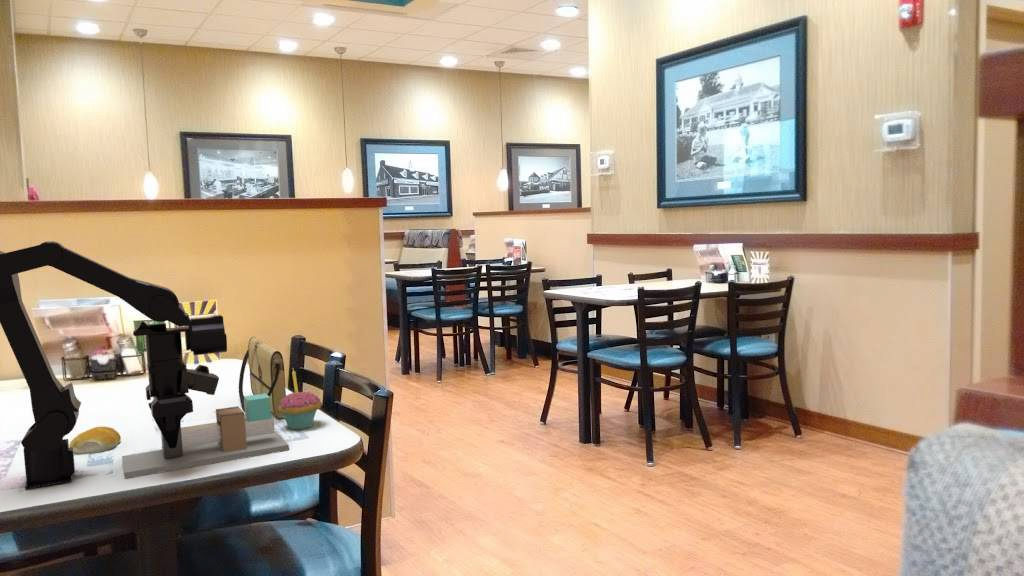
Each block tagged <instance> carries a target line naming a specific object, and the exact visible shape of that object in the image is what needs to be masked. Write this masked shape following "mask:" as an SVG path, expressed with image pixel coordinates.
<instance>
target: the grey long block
mask: <svg viewBox="0 0 1024 576" xmlns="http://www.w3.org/2000/svg"><path fill="white" fill-rule="evenodd" d="M274 418H275V417H274V416H273V415H272V414H271V419H265V420H258V421H252V422H249V421H248V420H247V419H246V418H245V428H246V438H248V437H254V436H260V435H266V434H272V433H275V432H274V431H275V420H274ZM160 434H161V435H160V436H161V447H162V448H161V450H162V452H163V456H164V459H165V458H171V457H177V456H183V449H182V448H186V447H193V446H199V445H205V444H211V443H217V442H222V437H221V423H220V422H217V421H215V422H209V423H208V422H207V423H204V424H198V425H197V424H196V425H191V426H189V425H188V426H183V427H182V425H181V423H180V428H179V434H178V441H177V446H176V448H169V446H168V444H167V442H166V440H165V439H164V437H163V435H162V433H161V432H160Z"/></svg>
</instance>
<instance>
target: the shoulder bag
mask: <svg viewBox="0 0 1024 576" xmlns="http://www.w3.org/2000/svg"><path fill="white" fill-rule="evenodd" d="M247 344H248V346H247V348H248V349H247V350H246V353H245V354H244V357H243V360H242V362H241V367H240V372H239V378H238V394H239V396H238V397H239V401H240V407H241V410H242V411H243V412H244V413H245V407H244V396H245V395H244V391H243V389H244V386H243V385H244V377H245V372H246V371H245V370H246V368H247V367H246V366H247V362H248V367H249V380H250V389H251V393H252V395H258V394H267V395H268V396H269V397H270V404H271V413H273V415H274V416H275V418H276V419H278V420H282V419H284V416H283V414H282V413H281V412H279V410H278V409H279V403H280V401H281V400H282V399H283V398H284V397H285V396H287V394H286V378H285V375H286V373H285V362H284V357H283V355H282V353H281V352H280V351H278V350H277V349H275V348H273V347H272V346H270V345H268V344H267V343H265V342H264V341H262V340H260V339H258V338H257V337H256V336H252V337H250V339H249V341H248V343H247Z"/></svg>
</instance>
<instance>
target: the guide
mask: <svg viewBox="0 0 1024 576" xmlns="http://www.w3.org/2000/svg"><path fill="white" fill-rule="evenodd" d="M215 416H216V422H220V423H221V437H222V442H217V443H211V444H205V445H199V446H193V447H186V448H182V449H183V456H177V457H171V458H165V459H164V456H163V452H162V449H157V450H151V451H145V452H144V451H143V452H139V453H133V454H126V455H122V456H121V461H122V467H123V476H124V479H130V478H137V477H141V476H146V475H147V476H148V475H152V474H153V475H154V474H159V473H163V472H170V471H175V470H176V471H177V470H181V469H187V468H192V467H198V466H199V467H200V466H205V465H212V464H216V463H222V462H228V461H234V460H238V459H237V458H240V459H243V458H242V457H245V458H249V457H248V456H251V457H256V456H255V455H257V456H261V454H263V455H266V454H267V453H268V454H272V452H274V453H278V451H280V452H284V451H283V450H285V451H289V449H290V445H289V444H288V442H287V441H286V439H284V438H283V437H282V436H281V435H280V434H279V433H278V432H277V431H276V430H274V432H275V433H272V434H266V435H260V436H254V437H248V438H246V428H245V412H244V411H243V409H242V408H240V407H239V406H230V407H223V408H216V409H215ZM233 459H234V460H233Z"/></svg>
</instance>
